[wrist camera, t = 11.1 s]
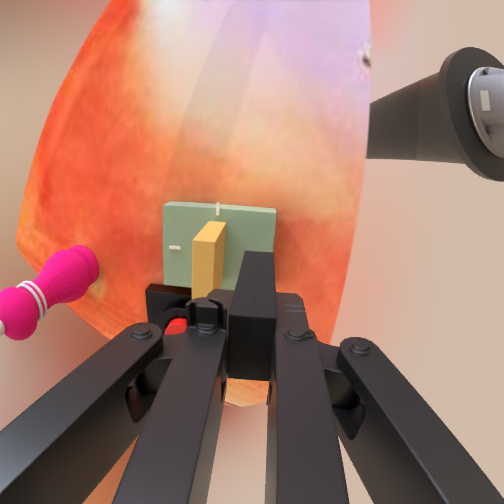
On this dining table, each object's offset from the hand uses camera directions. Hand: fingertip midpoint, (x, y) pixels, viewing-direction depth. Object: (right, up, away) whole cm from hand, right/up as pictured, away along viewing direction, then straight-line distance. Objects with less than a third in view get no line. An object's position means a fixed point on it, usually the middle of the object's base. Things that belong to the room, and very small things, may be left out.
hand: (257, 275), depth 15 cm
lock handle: (-4, +1, +18) cm, 18 cm away
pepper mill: (-26, -1, +22) cm, 34 cm away
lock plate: (-4, +2, +20) cm, 21 cm away
